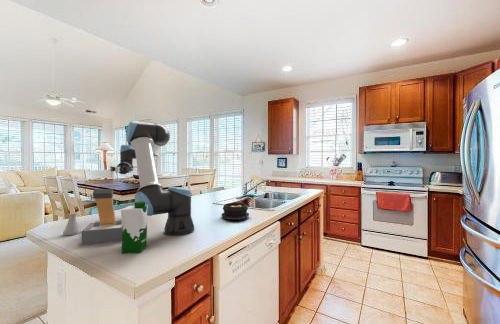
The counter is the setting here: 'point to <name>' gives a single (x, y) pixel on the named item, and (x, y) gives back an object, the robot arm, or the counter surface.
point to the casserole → (235, 211)
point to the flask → (72, 225)
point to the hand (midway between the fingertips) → (116, 169)
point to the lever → (105, 206)
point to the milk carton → (134, 228)
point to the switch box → (101, 233)
